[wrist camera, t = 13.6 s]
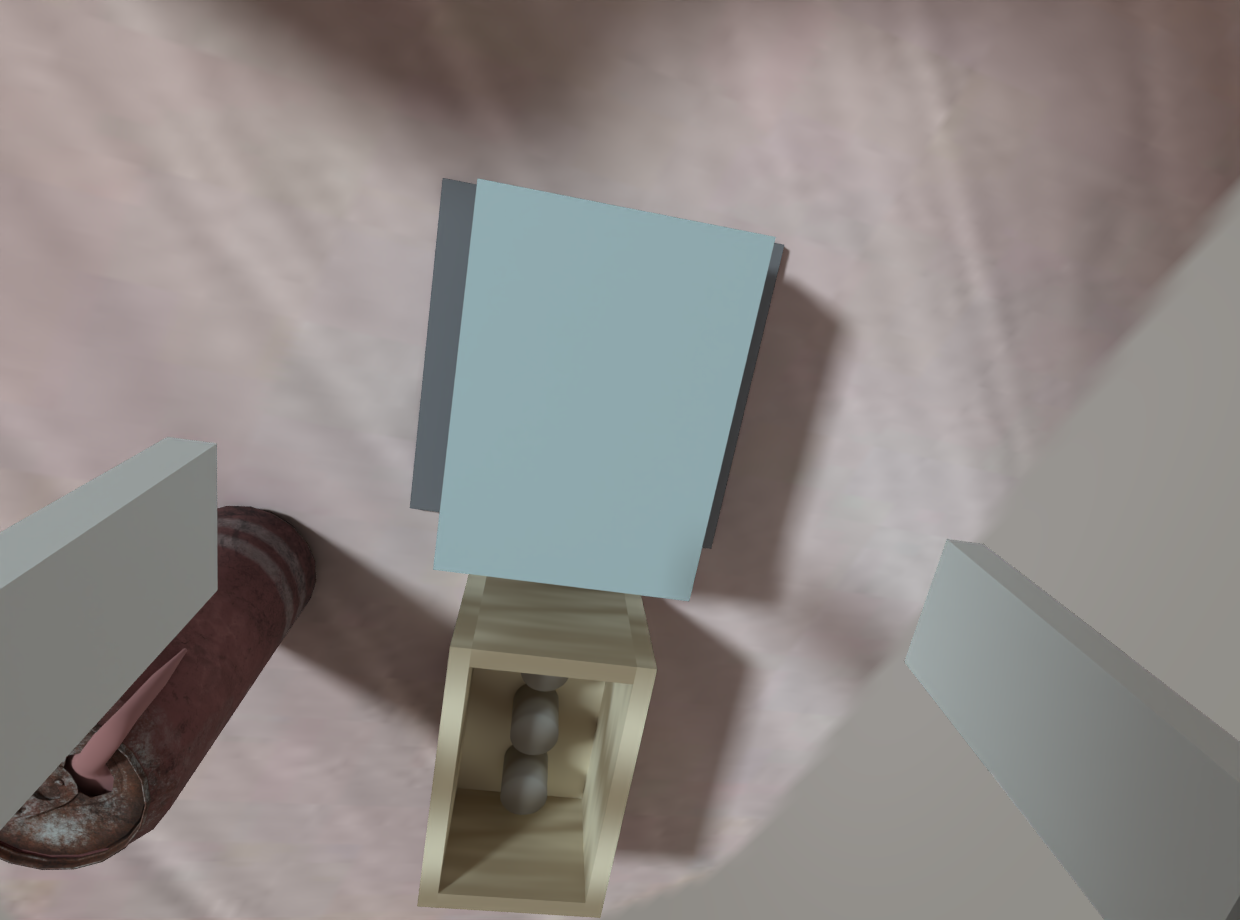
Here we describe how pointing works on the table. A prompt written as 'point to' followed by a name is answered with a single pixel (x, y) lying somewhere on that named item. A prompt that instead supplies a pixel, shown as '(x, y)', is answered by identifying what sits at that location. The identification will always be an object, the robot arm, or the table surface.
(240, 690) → the can
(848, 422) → the table surface
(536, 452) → the lid
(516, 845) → the crate
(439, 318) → the mat
